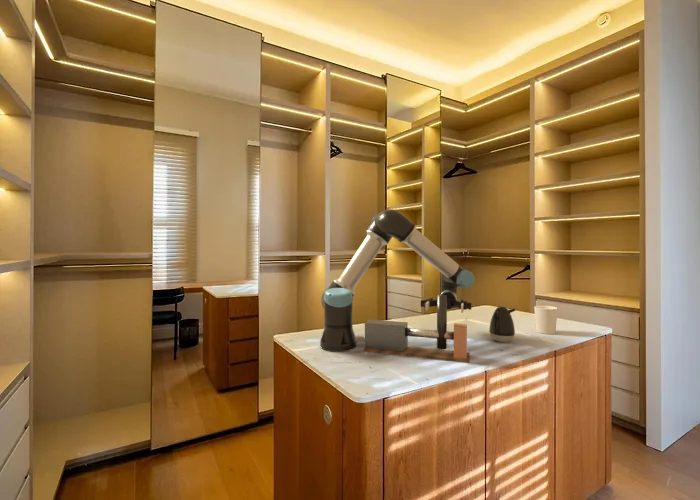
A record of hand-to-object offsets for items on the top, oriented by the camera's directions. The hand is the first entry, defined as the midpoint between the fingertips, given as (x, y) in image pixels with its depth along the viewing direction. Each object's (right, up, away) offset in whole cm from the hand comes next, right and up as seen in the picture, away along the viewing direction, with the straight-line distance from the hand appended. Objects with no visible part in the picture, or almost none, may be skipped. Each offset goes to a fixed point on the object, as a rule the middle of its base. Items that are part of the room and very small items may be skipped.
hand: (443, 308), depth 136 cm
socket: (+4, -16, -6) cm, 18 cm away
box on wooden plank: (-22, -16, +3) cm, 28 cm away
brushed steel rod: (-7, -14, -3) cm, 16 cm away
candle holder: (+57, -17, +31) cm, 67 cm away
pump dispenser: (+30, -17, +16) cm, 38 cm away
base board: (-11, -17, -1) cm, 21 cm away
